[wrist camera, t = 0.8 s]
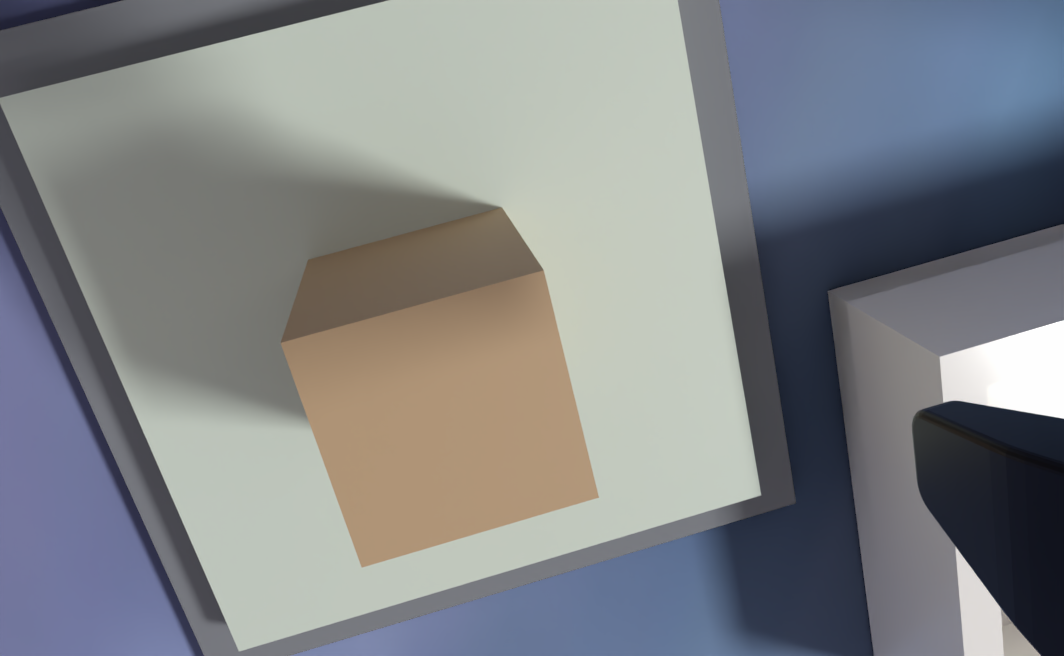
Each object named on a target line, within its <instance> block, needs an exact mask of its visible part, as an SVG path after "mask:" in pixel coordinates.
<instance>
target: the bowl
mask: <svg viewBox="0 0 1064 656" xmlns="http://www.w3.org/2000/svg"><path fill="white" fill-rule="evenodd" d="M828 298H829V306H830V314H831V322H832V329H833V337H834V345H835V353H836V361H837V369H838V377H839V384H840V392H841V400H842V408H843V416H844V424H845V432H846V440H847V447H848V455H849V463H850V471H851V479H852V487H853V495H854V503H855V510H856V518H857V526H858V534H859V542H860V550H861V558H862V566H863V573H864V581H865V589H866V597H867V605H868V613H869V621H870V629H871V636H872V644H873V652H874V656H1041V655H1040V654H1039V653H1038V652H1037V651H1036V650H1035V649H1034V647H1033V646H1032V645H1031V644H1030V643H1029V642H1028V641H1027V639H1026V638H1025V637H1024V636H1023V635H1022V634H1021V633H1020V631H1019V630H1018V629H1017V628H1016V627H1015V626H1014V624H1013V623H1012V622H1011V620H1010V619H1009V618H1008V617H1007V615H1006V614H1005V613H1004V612H1003V610H1002V609H1001V608H1000V606H999V605H998V604H997V602H996V601H995V600H994V598H993V597H992V596H991V594H990V593H989V591H988V590H987V589H986V587H985V586H984V585H983V583H982V582H981V581H980V579H979V578H978V576H977V575H976V574H975V572H974V571H973V570H972V568H971V567H970V566H969V564H968V563H967V562H966V560H965V559H964V557H963V556H962V555H961V553H960V552H959V551H958V549H957V548H956V547H955V545H954V544H953V543H952V541H951V540H950V538H949V537H948V536H947V534H946V533H945V532H944V530H943V529H942V528H941V526H940V525H939V523H938V522H937V521H936V519H935V518H934V517H933V515H932V514H931V513H930V511H929V510H928V508H927V507H926V505H925V504H924V502H923V500H922V497H921V495H920V492H919V489H918V485H917V477H916V467H915V457H914V447H913V436H912V420H913V417H914V415H915V414H916V413H917V411H919V410H921V409H924V408H928V407H931V406H934V405H938V404H941V403H944V402H948V401H963V402H969V403H975V404H981V405H987V406H993V407H999V408H1004V409H1010V410H1016V411H1022V412H1028V413H1034V414H1040V415H1046V416H1052V417H1058V418H1064V224H1061V225H1058V226H1054V227H1051V228H1047V229H1044V230H1040V231H1037V232H1033V233H1030V234H1026V235H1023V236H1019V237H1016V238H1012V239H1009V240H1005V241H1002V242H998V243H995V244H991V245H988V246H984V247H981V248H977V249H973V250H970V251H966V252H963V253H959V254H956V255H952V256H949V257H945V258H942V259H938V260H935V261H931V262H928V263H924V264H921V265H917V266H914V267H910V268H907V269H903V270H900V271H896V272H893V273H889V274H885V275H882V276H878V277H875V278H871V279H868V280H864V281H861V282H857V283H854V284H850V285H847V286H843V287H840V288H836V289H833V290H829V291H828Z"/></svg>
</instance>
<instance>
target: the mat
mask: <svg viewBox="0 0 1064 656" xmlns="http://www.w3.org/2000/svg"><path fill="white" fill-rule="evenodd" d="M384 1H388V0H122V1H118V2H114V3H110V4H106V5H102V6H98V7H94V8H90V9H86V10H82V11H78V12H74V13H70V14H65V15H61V16H57V17H53V18H49V19H45V20H41V21H37V22H33V23H29V24H25V25H21V26H17V27H13V28H9V29H4V30H0V98H2V97H6V96H10V95H13V94H17V93H21V92H25V91H29V90H33V89H37V88H41V87H45V86H49V85H53V84H57V83H61V82H65V81H69V80H73V79H77V78H81V77H85V76H89V75H93V74H97V73H101V72H105V71H109V70H113V69H117V68H121V67H125V66H129V65H133V64H137V63H141V62H145V61H149V60H153V59H157V58H161V57H165V56H169V55H173V54H177V53H181V52H185V51H189V50H193V49H197V48H201V47H205V46H209V45H213V44H217V43H221V42H225V41H229V40H232V39H236V38H240V37H244V36H248V35H252V34H256V33H260V32H264V31H268V30H272V29H276V28H280V27H284V26H288V25H292V24H296V23H300V22H304V21H308V20H312V19H316V18H320V17H324V16H328V15H332V14H336V13H340V12H344V11H348V10H352V9H356V8H360V7H364V6H368V5H372V4H376V3H380V2H384ZM678 5H679V11H680V17H681V23H682V29H683V35H684V41H685V47H686V53H687V59H688V64H689V70H690V76H691V82H692V88H693V94H694V100H695V106H696V112H697V118H698V124H699V130H700V136H701V141H702V147H703V153H704V159H705V165H706V171H707V177H708V183H709V189H710V195H711V201H712V207H713V213H714V218H715V224H716V230H717V236H718V242H719V248H720V254H721V260H722V266H723V272H724V278H725V284H726V290H727V295H728V301H729V307H730V313H731V319H732V325H733V331H734V337H735V343H736V349H737V355H738V361H739V367H740V372H741V378H742V384H743V390H744V396H745V402H746V408H747V414H748V420H749V426H750V432H751V438H752V444H753V449H754V455H755V461H756V467H757V473H758V479H759V485H760V491H761V496H757V497H754V498H751V499H747V500H744V501H741V502H737V503H734V504H730V505H727V506H724V507H720V508H717V509H714V510H710V511H707V512H704V513H700V514H697V515H694V516H690V517H687V518H684V519H680V520H677V521H674V522H670V523H667V524H664V525H660V526H657V527H654V528H650V529H647V530H644V531H640V532H637V533H634V534H630V535H627V536H624V537H620V538H617V539H614V540H610V541H607V542H604V543H600V544H597V545H594V546H590V547H587V548H583V549H580V550H577V551H573V552H570V553H567V554H563V555H560V556H557V557H553V558H550V559H547V560H543V561H540V562H537V563H533V564H530V565H527V566H523V567H520V568H517V569H513V570H510V571H507V572H503V573H500V574H497V575H493V576H490V577H487V578H483V579H480V580H477V581H473V582H470V583H467V584H463V585H460V586H457V587H453V588H450V589H447V590H443V591H440V592H437V593H433V594H430V595H426V596H423V597H420V598H416V599H413V600H410V601H406V602H403V603H400V604H396V605H393V606H390V607H386V608H383V609H380V610H376V611H373V612H370V613H366V614H363V615H360V616H356V617H353V618H350V619H346V620H343V621H340V622H336V623H333V624H330V625H326V626H323V627H320V628H316V629H313V630H310V631H306V632H303V633H300V634H296V635H293V636H290V637H286V638H283V639H279V640H276V641H273V642H269V643H266V644H263V645H259V646H256V647H253V648H249V649H246V650H243V651H239V650H238V648H237V646H236V643H235V641H234V639H233V637H232V634H231V632H230V630H229V627H228V625H227V623H226V621H225V618H224V616H223V614H222V611H221V609H220V607H219V604H218V602H217V600H216V598H215V595H214V593H213V591H212V588H211V586H210V584H209V582H208V579H207V577H206V575H205V572H204V570H203V568H202V565H201V563H200V561H199V559H198V556H197V554H196V552H195V549H194V547H193V545H192V543H191V540H190V538H189V536H188V533H187V531H186V529H185V527H184V524H183V522H182V520H181V517H180V515H179V513H178V510H177V508H176V506H175V504H174V501H173V499H172V497H171V494H170V492H169V490H168V488H167V485H166V483H165V481H164V478H163V476H162V474H161V471H160V469H159V467H158V465H157V462H156V460H155V458H154V455H153V453H152V451H151V449H150V446H149V444H148V442H147V439H146V437H145V435H144V433H143V430H142V428H141V426H140V423H139V421H138V419H137V416H136V414H135V412H134V410H133V407H132V405H131V403H130V400H129V398H128V396H127V394H126V391H125V389H124V387H123V384H122V382H121V380H120V377H119V375H118V373H117V371H116V368H115V366H114V364H113V361H112V359H111V357H110V355H109V352H108V350H107V348H106V345H105V343H104V341H103V339H102V336H101V334H100V332H99V329H98V327H97V325H96V322H95V320H94V318H93V316H92V313H91V311H90V309H89V306H88V304H87V302H86V300H85V297H84V295H83V293H82V290H81V288H80V286H79V284H78V281H77V279H76V277H75V274H74V272H73V270H72V267H71V265H70V263H69V261H68V258H67V256H66V254H65V251H64V249H63V247H62V245H61V242H60V240H59V238H58V235H57V233H56V231H55V228H54V226H53V224H52V222H51V219H50V217H49V215H48V212H47V210H46V208H45V206H44V203H43V201H42V199H41V196H40V194H39V192H38V189H37V187H36V185H35V183H34V180H33V178H32V176H31V173H30V171H29V169H28V167H27V164H26V162H25V160H24V157H23V155H22V153H21V151H20V148H19V146H18V144H17V141H16V139H15V137H14V134H13V132H12V130H11V128H10V125H9V123H8V121H7V118H6V116H5V114H4V112H3V109H2V107H1V105H0V207H1V209H2V212H3V214H4V216H5V218H6V220H7V223H8V225H9V227H10V229H11V231H12V234H13V236H14V238H15V240H16V242H17V245H18V247H19V249H20V251H21V253H22V256H23V258H24V260H25V262H26V264H27V267H28V269H29V271H30V273H31V275H32V278H33V280H34V282H35V284H36V286H37V289H38V291H39V293H40V295H41V297H42V300H43V302H44V304H45V306H46V308H47V311H48V313H49V315H50V317H51V319H52V322H53V324H54V326H55V328H56V330H57V333H58V335H59V337H60V339H61V341H62V344H63V346H64V348H65V350H66V353H67V355H68V357H69V359H70V361H71V364H72V366H73V368H74V370H75V372H76V375H77V377H78V379H79V381H80V383H81V386H82V388H83V390H84V392H85V394H86V397H87V399H88V401H89V403H90V405H91V408H92V410H93V412H94V414H95V416H96V419H97V421H98V423H99V425H100V427H101V430H102V432H103V434H104V436H105V438H106V441H107V443H108V445H109V447H110V449H111V452H112V454H113V456H114V458H115V460H116V463H117V465H118V467H119V469H120V471H121V474H122V476H123V478H124V480H125V482H126V485H127V487H128V489H129V491H130V493H131V496H132V498H133V500H134V502H135V504H136V507H137V509H138V511H139V513H140V515H141V518H142V520H143V522H144V524H145V526H146V529H147V531H148V533H149V535H150V537H151V540H152V542H153V544H154V546H155V549H156V551H157V553H158V555H159V557H160V560H161V562H162V564H163V566H164V568H165V571H166V573H167V575H168V577H169V579H170V582H171V584H172V586H173V588H174V590H175V593H176V595H177V597H178V599H179V601H180V604H181V606H182V608H183V610H184V612H185V615H186V617H187V619H188V621H189V623H190V626H191V628H192V630H193V632H194V634H195V637H196V639H197V641H198V643H199V645H200V648H201V650H202V652H203V654H204V656H290V655H293V654H297V653H300V652H303V651H307V650H310V649H313V648H316V647H320V646H323V645H326V644H330V643H333V642H336V641H340V640H343V639H346V638H350V637H353V636H356V635H360V634H363V633H366V632H370V631H373V630H376V629H380V628H383V627H386V626H390V625H393V624H396V623H400V622H403V621H406V620H410V619H413V618H416V617H420V616H423V615H426V614H430V613H433V612H436V611H439V610H443V609H446V608H449V607H453V606H456V605H459V604H463V603H466V602H469V601H473V600H476V599H479V598H483V597H486V596H489V595H493V594H496V593H499V592H503V591H506V590H509V589H513V588H516V587H519V586H523V585H526V584H529V583H533V582H536V581H539V580H543V579H546V578H549V577H552V576H556V575H559V574H562V573H566V572H569V571H572V570H576V569H579V568H582V567H586V566H589V565H592V564H596V563H599V562H602V561H606V560H609V559H612V558H616V557H619V556H622V555H626V554H629V553H632V552H636V551H639V550H642V549H646V548H649V547H652V546H656V545H659V544H662V543H666V542H669V541H672V540H675V539H679V538H682V537H685V536H689V535H692V534H695V533H699V532H702V531H705V530H709V529H712V528H715V527H719V526H722V525H725V524H729V523H732V522H735V521H739V520H742V519H745V518H749V517H752V516H755V515H759V514H762V513H765V512H769V511H772V510H775V509H779V508H782V507H785V506H788V505H792V504H795V503H796V499H795V492H794V486H793V479H792V473H791V466H790V460H789V453H788V447H787V440H786V434H785V427H784V421H783V414H782V408H781V401H780V394H779V388H778V381H777V375H776V368H775V362H774V355H773V349H772V342H771V336H770V329H769V323H768V316H767V310H766V303H765V297H764V290H763V284H762V277H761V271H760V264H759V258H758V251H757V245H756V238H755V232H754V225H753V219H752V212H751V206H750V199H749V193H748V186H747V180H746V173H745V167H744V160H743V153H742V147H741V140H740V134H739V127H738V121H737V114H736V108H735V101H734V95H733V88H732V82H731V75H730V69H729V62H728V56H727V49H726V43H725V36H724V30H723V23H722V17H721V10H720V4H719V0H678Z"/></svg>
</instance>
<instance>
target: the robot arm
mask: <svg viewBox="0 0 1064 656" xmlns="http://www.w3.org/2000/svg"><path fill="white" fill-rule="evenodd" d="M912 436H913V447H914V457H915V467H916V477H917V485H918V489H919V492H920V495H921V497H922V500H923V502H924V504H925V505H926V507H927V508H928V510H929V511H930V513H931V514H932V515H933V517H934V518H935V519H936V521H937V522H938V523H939V525H940V526H941V528H942V529H943V530H944V532H945V533H946V534H947V536H948V537H949V538H950V540H951V541H952V543H953V544H954V545H955V547H956V548H957V549H958V551H959V552H960V553H961V555H962V556H963V557H964V559H965V560H966V562H967V563H968V564H969V566H970V567H971V568H972V570H973V571H974V572H975V574H976V575H977V576H978V578H979V579H980V581H981V582H982V583H983V585H984V586H985V587H986V589H987V590H988V591H989V593H990V594H991V596H992V597H993V598H994V600H995V601H996V602H997V604H998V605H999V606H1000V608H1001V609H1002V610H1003V612H1004V613H1005V614H1006V615H1007V617H1008V618H1009V619H1010V620H1011V622H1012V623H1013V624H1014V626H1015V627H1016V628H1017V629H1018V630H1019V631H1020V633H1021V634H1022V635H1023V636H1024V637H1025V638H1026V639H1027V641H1028V642H1029V643H1030V644H1031V645H1032V646H1033V647H1034V649H1035V650H1036V651H1037V652H1038V653H1039V654H1040V655H1041V656H1064V418H1058V417H1052V416H1046V415H1040V414H1034V413H1028V412H1022V411H1016V410H1010V409H1004V408H999V407H993V406H987V405H981V404H975V403H969V402H963V401H948V402H944V403H941V404H938V405H934V406H931V407H928V408H924V409H921V410H919V411H917V413H916V414H915V415H914V417H913V420H912Z"/></svg>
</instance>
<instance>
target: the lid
mask: <svg viewBox="0 0 1064 656" xmlns="http://www.w3.org/2000/svg"><path fill="white" fill-rule="evenodd" d="M0 105H1V107H2V109H3V112H4V114H5V116H6V118H7V121H8V123H9V125H10V128H11V130H12V132H13V134H14V137H15V139H16V141H17V144H18V146H19V148H20V151H21V153H22V155H23V157H24V160H25V162H26V164H27V167H28V169H29V171H30V173H31V176H32V178H33V180H34V183H35V185H36V187H37V189H38V192H39V194H40V196H41V199H42V201H43V203H44V206H45V208H46V210H47V212H48V215H49V217H50V219H51V222H52V224H53V226H54V228H55V231H56V233H57V235H58V238H59V240H60V242H61V245H62V247H63V249H64V251H65V254H66V256H67V258H68V261H69V263H70V265H71V267H72V270H73V272H74V274H75V277H76V279H77V281H78V284H79V286H80V288H81V290H82V293H83V295H84V297H85V300H86V302H87V304H88V306H89V309H90V311H91V313H92V316H93V318H94V320H95V322H96V325H97V327H98V329H99V332H100V334H101V336H102V339H103V341H104V343H105V345H106V348H107V350H108V352H109V355H110V357H111V359H112V361H113V364H114V366H115V368H116V371H117V373H118V375H119V377H120V380H121V382H122V384H123V387H124V389H125V391H126V394H127V396H128V398H129V400H130V403H131V405H132V407H133V410H134V412H135V414H136V416H137V419H138V421H139V423H140V426H141V428H142V430H143V433H144V435H145V437H146V439H147V442H148V444H149V446H150V449H151V451H152V453H153V455H154V458H155V460H156V462H157V465H158V467H159V469H160V471H161V474H162V476H163V478H164V481H165V483H166V485H167V488H168V490H169V492H170V494H171V497H172V499H173V501H174V504H175V506H176V508H177V510H178V513H179V515H180V517H181V520H182V522H183V524H184V527H185V529H186V531H187V533H188V536H189V538H190V540H191V543H192V545H193V547H194V549H195V552H196V554H197V556H198V559H199V561H200V563H201V565H202V568H203V570H204V572H205V575H206V577H207V579H208V582H209V584H210V586H211V588H212V591H213V593H214V595H215V598H216V600H217V602H218V604H219V607H220V609H221V611H222V614H223V616H224V618H225V621H226V623H227V625H228V627H229V630H230V632H231V634H232V637H233V639H234V641H235V643H236V646H237V648H238V650H239V651H243V650H246V649H249V648H253V647H256V646H259V645H263V644H266V643H269V642H273V641H276V640H279V639H283V638H286V637H290V636H293V635H296V634H300V633H303V632H306V631H310V630H313V629H316V628H320V627H323V626H326V625H330V624H333V623H336V622H340V621H343V620H346V619H350V618H353V617H356V616H360V615H363V614H366V613H370V612H373V611H376V610H380V609H383V608H386V607H390V606H393V605H396V604H400V603H403V602H406V601H410V600H413V599H416V598H420V597H423V596H426V595H430V594H433V593H437V592H440V591H443V590H447V589H450V588H453V587H457V586H460V585H463V584H467V583H470V582H473V581H477V580H480V579H483V578H487V577H490V576H493V575H497V574H500V573H503V572H507V571H510V570H513V569H517V568H520V567H523V566H527V565H530V564H533V563H537V562H540V561H543V560H547V559H550V558H553V557H557V556H560V555H563V554H567V553H570V552H573V551H577V550H580V549H583V548H587V547H590V546H594V545H597V544H600V543H604V542H607V541H610V540H614V539H617V538H620V537H624V536H627V535H630V534H634V533H637V532H640V531H644V530H647V529H650V528H654V527H657V526H660V525H664V524H667V523H670V522H674V521H677V520H680V519H684V518H687V517H690V516H694V515H697V514H700V513H704V512H707V511H710V510H714V509H717V508H720V507H724V506H727V505H730V504H734V503H737V502H741V501H744V500H747V499H751V498H754V497H757V496H761V491H760V485H759V479H758V473H757V467H756V461H755V455H754V449H753V444H752V438H751V432H750V426H749V420H748V414H747V408H746V402H745V396H744V390H743V384H742V378H741V372H740V367H739V361H738V355H737V349H736V343H735V337H734V331H733V325H732V319H731V313H730V307H729V301H728V295H727V290H726V284H725V278H724V272H723V266H722V260H721V254H720V248H719V242H718V236H717V230H716V224H715V218H714V213H713V207H712V201H711V195H710V189H709V183H708V177H707V171H706V165H705V159H704V153H703V147H702V141H701V136H700V130H699V124H698V118H697V112H696V106H695V100H694V94H693V88H692V82H691V76H690V70H689V64H688V59H687V53H686V47H685V41H684V35H683V29H682V23H681V17H680V11H679V5H678V0H388V1H384V2H380V3H376V4H372V5H368V6H364V7H360V8H356V9H352V10H348V11H344V12H340V13H336V14H332V15H328V16H324V17H320V18H316V19H312V20H308V21H304V22H300V23H296V24H292V25H288V26H284V27H280V28H276V29H272V30H268V31H264V32H260V33H256V34H252V35H248V36H244V37H240V38H236V39H232V40H229V41H225V42H221V43H217V44H213V45H209V46H205V47H201V48H197V49H193V50H189V51H185V52H181V53H177V54H173V55H169V56H165V57H161V58H157V59H153V60H149V61H145V62H141V63H137V64H133V65H129V66H125V67H121V68H117V69H113V70H109V71H105V72H101V73H97V74H93V75H89V76H85V77H81V78H77V79H73V80H69V81H65V82H61V83H57V84H53V85H49V86H45V87H41V88H37V89H33V90H29V91H25V92H21V93H17V94H13V95H10V96H6V97H2V98H0Z"/></svg>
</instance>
